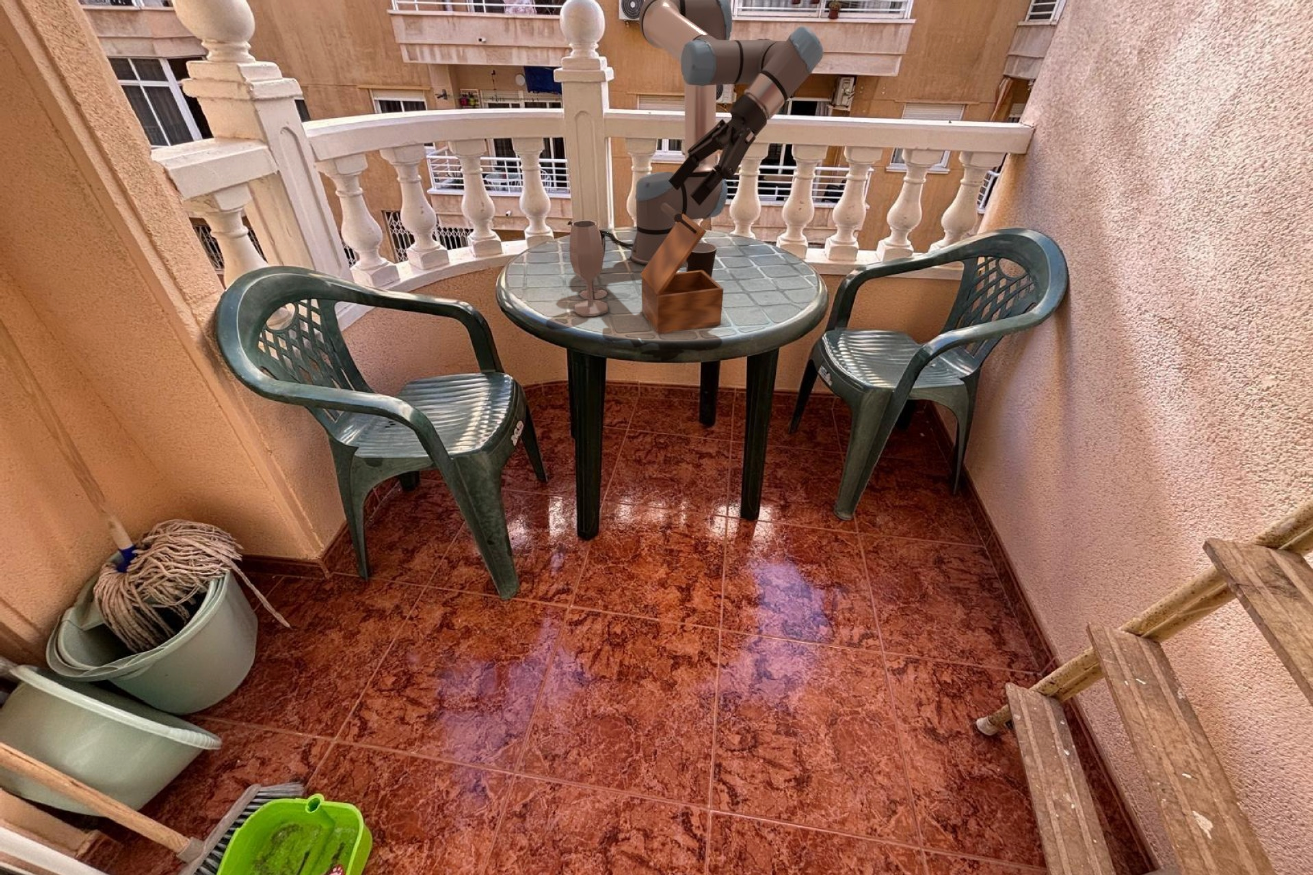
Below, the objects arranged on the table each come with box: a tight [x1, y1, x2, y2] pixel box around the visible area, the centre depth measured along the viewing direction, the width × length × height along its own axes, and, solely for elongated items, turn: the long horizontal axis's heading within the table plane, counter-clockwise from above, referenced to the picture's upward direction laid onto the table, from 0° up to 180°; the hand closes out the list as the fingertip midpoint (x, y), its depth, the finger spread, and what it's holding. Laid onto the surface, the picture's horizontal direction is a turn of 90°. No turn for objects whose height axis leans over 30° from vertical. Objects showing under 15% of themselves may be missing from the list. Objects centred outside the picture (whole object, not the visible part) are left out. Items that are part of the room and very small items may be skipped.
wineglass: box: [568, 219, 609, 317], centre depth 127 cm, size 9×9×21 cm
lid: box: [640, 203, 707, 296], centre depth 118 cm, size 17×13×7 cm
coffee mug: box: [685, 241, 718, 278], centre depth 146 cm, size 12×9×10 cm
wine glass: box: [579, 233, 608, 300], centre depth 137 cm, size 8×8×15 cm
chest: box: [641, 270, 724, 335], centre depth 127 cm, size 16×13×9 cm
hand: (683, 193), depth 113 cm, fingers open, 13 cm apart
